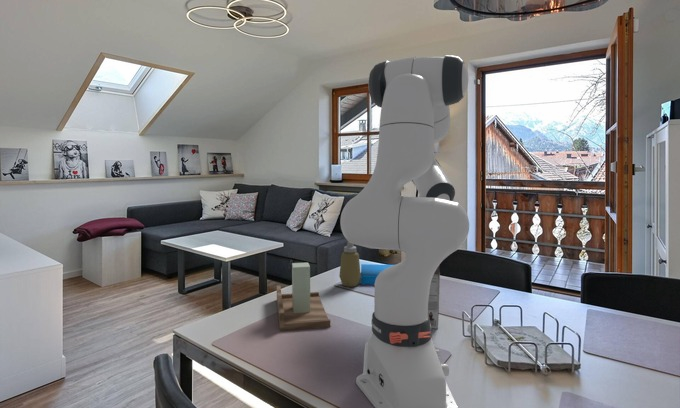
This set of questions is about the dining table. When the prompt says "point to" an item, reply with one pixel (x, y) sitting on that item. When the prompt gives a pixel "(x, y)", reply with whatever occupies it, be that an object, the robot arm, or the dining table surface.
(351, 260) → the squeeze bottle
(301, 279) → the sage block
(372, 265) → the book
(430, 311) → the coffee box
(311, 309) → the tray
